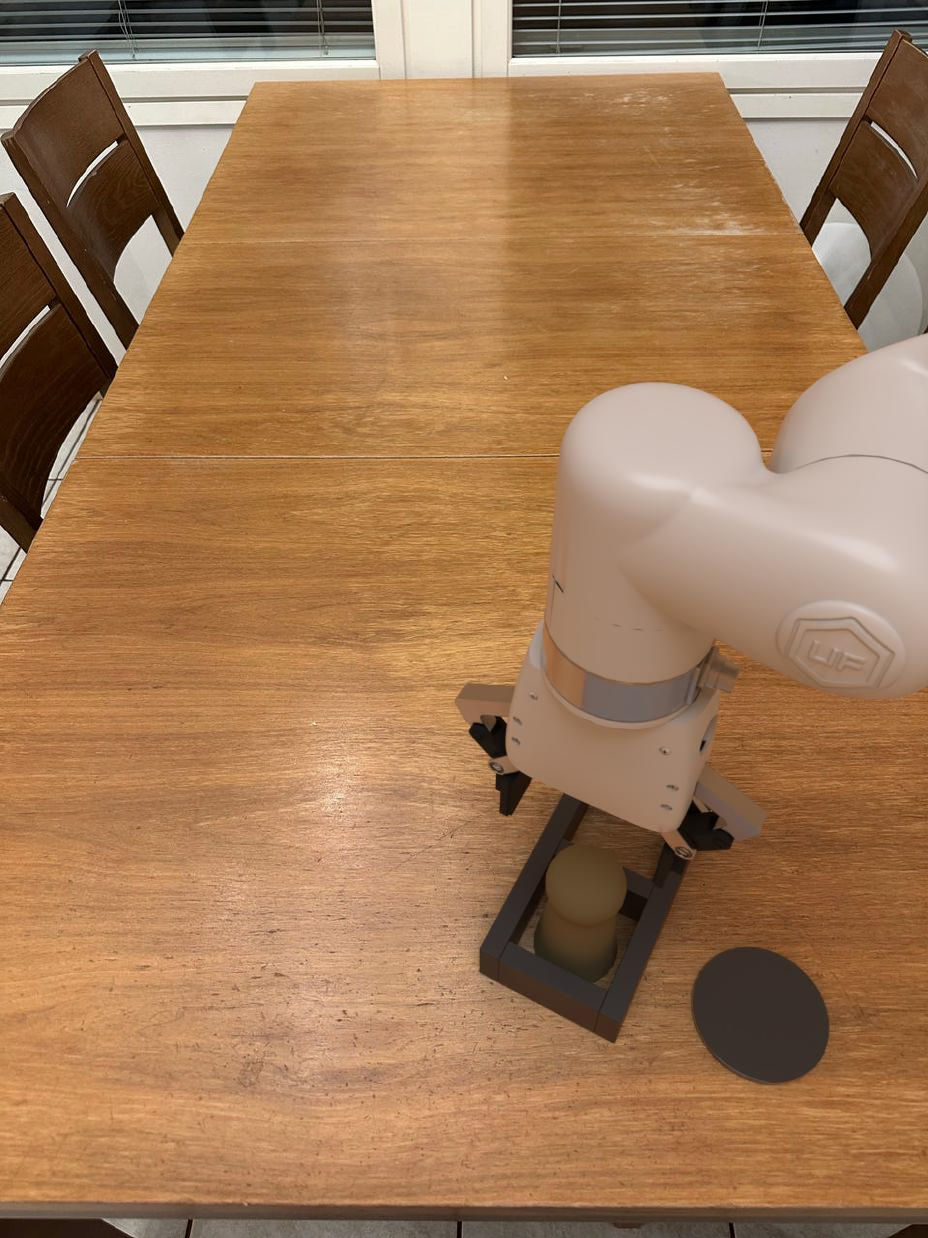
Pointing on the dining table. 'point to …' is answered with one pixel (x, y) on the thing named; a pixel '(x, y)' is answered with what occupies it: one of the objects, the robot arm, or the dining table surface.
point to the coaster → (760, 1015)
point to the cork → (581, 911)
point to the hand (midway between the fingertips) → (588, 830)
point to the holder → (551, 981)
